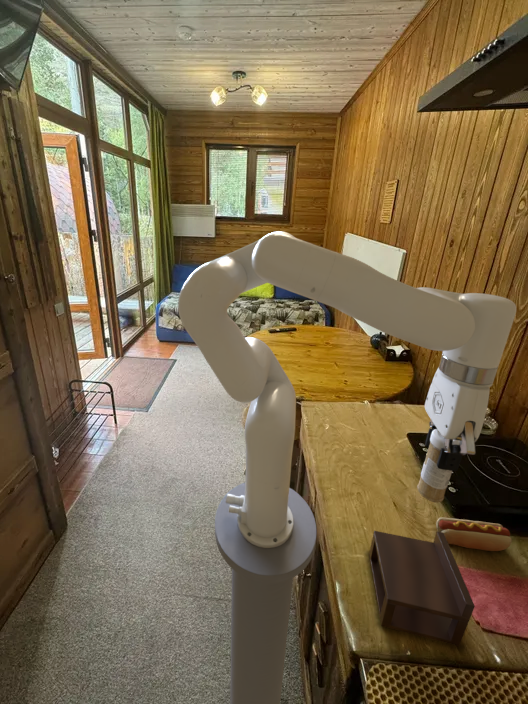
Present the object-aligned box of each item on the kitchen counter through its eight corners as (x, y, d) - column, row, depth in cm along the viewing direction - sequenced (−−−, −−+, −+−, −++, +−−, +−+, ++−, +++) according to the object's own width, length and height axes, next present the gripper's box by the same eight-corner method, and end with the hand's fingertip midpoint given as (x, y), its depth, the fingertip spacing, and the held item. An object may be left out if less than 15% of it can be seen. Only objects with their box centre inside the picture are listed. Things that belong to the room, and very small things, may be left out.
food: (495, 533, 69) (501, 516, 67) (513, 558, 63) (520, 541, 62) (429, 525, 70) (434, 509, 69) (441, 550, 65) (447, 532, 63)
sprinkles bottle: (425, 480, 62) (441, 424, 58) (448, 498, 58) (467, 439, 54) (411, 489, 60) (426, 431, 56) (434, 507, 56) (453, 447, 52)
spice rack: (381, 626, 53) (391, 586, 49) (368, 555, 64) (376, 519, 61) (459, 646, 50) (475, 606, 47) (432, 569, 61) (443, 532, 58)
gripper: (422, 346, 59) (403, 426, 65) (466, 392, 43) (436, 492, 49) (465, 350, 58) (442, 431, 64) (527, 399, 42) (489, 501, 48)
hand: (440, 456), depth 56 cm, fingers closed on sprinkles bottle, 4 cm apart
